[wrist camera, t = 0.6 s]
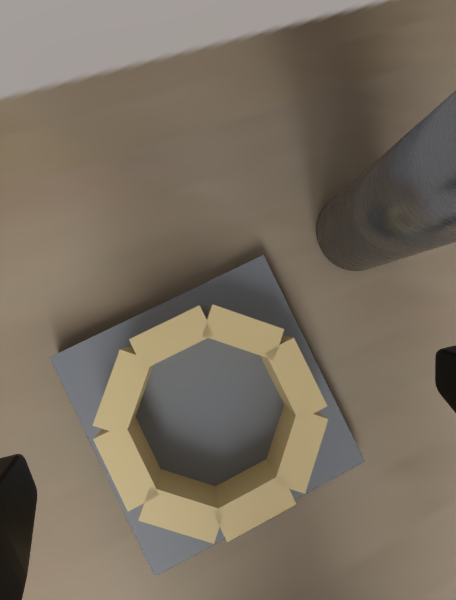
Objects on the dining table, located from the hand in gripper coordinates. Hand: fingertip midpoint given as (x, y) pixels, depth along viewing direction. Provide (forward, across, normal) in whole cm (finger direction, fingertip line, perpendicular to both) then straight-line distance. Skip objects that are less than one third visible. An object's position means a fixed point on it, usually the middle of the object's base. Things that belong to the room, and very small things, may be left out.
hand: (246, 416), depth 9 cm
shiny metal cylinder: (+14, -10, 0) cm, 17 cm away
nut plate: (+12, 0, +7) cm, 14 cm away
